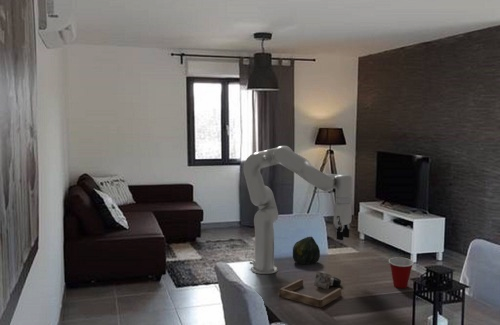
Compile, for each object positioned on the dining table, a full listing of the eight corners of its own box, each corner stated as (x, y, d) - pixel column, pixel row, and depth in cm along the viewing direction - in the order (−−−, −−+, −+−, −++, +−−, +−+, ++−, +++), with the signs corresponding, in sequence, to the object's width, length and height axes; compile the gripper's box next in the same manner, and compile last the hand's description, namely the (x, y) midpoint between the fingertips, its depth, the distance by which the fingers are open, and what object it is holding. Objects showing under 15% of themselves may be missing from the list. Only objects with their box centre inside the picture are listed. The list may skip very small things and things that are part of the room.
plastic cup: (386, 288, 207) (387, 262, 206) (389, 281, 217) (389, 256, 216) (412, 292, 203) (413, 265, 202) (413, 284, 213) (414, 258, 212)
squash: (282, 251, 248) (297, 233, 240) (301, 247, 258) (315, 230, 250) (297, 273, 241) (312, 256, 233) (315, 268, 251) (331, 251, 243)
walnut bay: (279, 296, 198) (279, 289, 197) (300, 285, 211) (300, 278, 211) (320, 307, 185) (321, 300, 185) (341, 295, 198) (341, 288, 198)
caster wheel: (339, 288, 214) (338, 293, 204) (315, 281, 217) (313, 285, 207) (342, 274, 214) (342, 278, 204) (318, 267, 217) (317, 271, 207)
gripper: (344, 197, 227) (344, 234, 229) (327, 202, 214) (327, 240, 215) (358, 199, 223) (358, 236, 224) (342, 203, 209) (341, 243, 211)
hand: (342, 238), depth 220 cm, fingers open, 5 cm apart
